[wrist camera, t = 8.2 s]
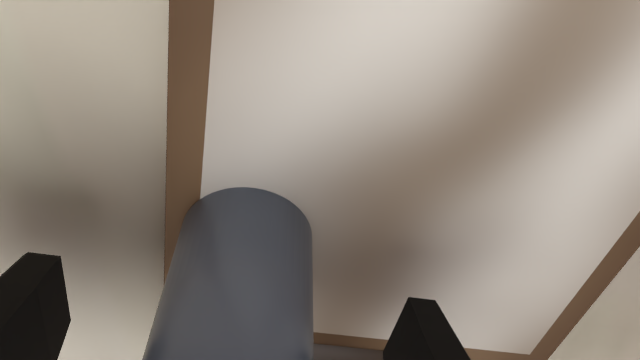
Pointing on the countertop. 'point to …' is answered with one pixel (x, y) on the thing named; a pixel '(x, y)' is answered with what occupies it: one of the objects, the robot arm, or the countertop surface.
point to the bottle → (238, 282)
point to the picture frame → (421, 154)
